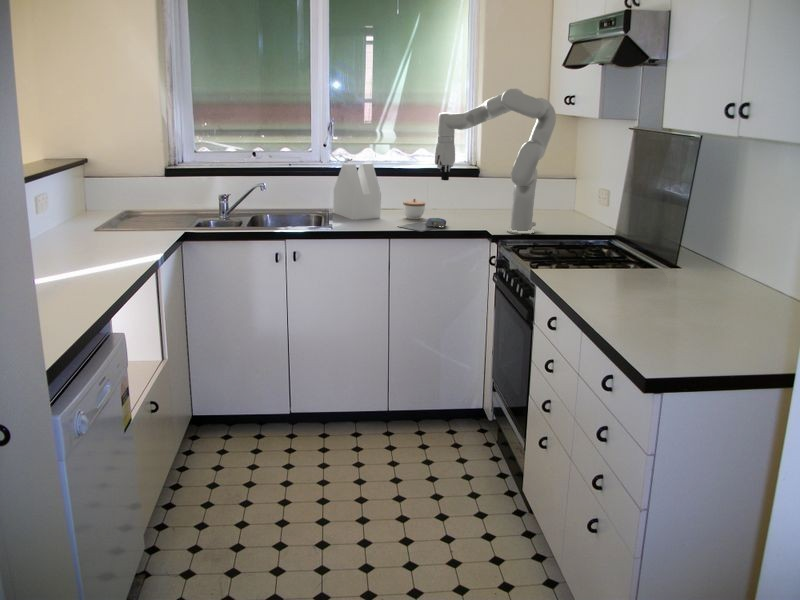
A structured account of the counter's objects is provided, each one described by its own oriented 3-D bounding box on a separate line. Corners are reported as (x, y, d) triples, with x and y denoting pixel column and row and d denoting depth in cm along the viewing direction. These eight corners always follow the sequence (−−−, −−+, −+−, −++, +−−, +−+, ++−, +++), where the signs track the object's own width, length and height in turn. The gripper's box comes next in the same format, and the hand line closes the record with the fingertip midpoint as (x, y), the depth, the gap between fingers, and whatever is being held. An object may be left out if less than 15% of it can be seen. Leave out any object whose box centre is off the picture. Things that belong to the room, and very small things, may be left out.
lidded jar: (398, 216, 398) (399, 197, 395) (418, 215, 402) (419, 196, 400) (408, 220, 389) (409, 201, 386) (428, 219, 393) (429, 200, 391)
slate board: (421, 222, 385) (421, 221, 384) (444, 227, 376) (444, 226, 376) (397, 226, 372) (397, 226, 372) (421, 231, 363) (421, 230, 363)
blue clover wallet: (426, 223, 381) (424, 227, 371) (427, 217, 381) (425, 220, 370) (446, 225, 381) (445, 228, 370) (446, 218, 380) (445, 222, 370)
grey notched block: (333, 212, 400) (334, 161, 393) (360, 211, 408) (361, 160, 402) (352, 219, 385) (353, 166, 378) (380, 217, 393) (382, 165, 386)
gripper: (449, 138, 382) (448, 178, 387) (429, 140, 371) (428, 180, 376) (462, 139, 377) (461, 179, 382) (442, 141, 366) (441, 182, 371)
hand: (444, 180), depth 379 cm, fingers closed
